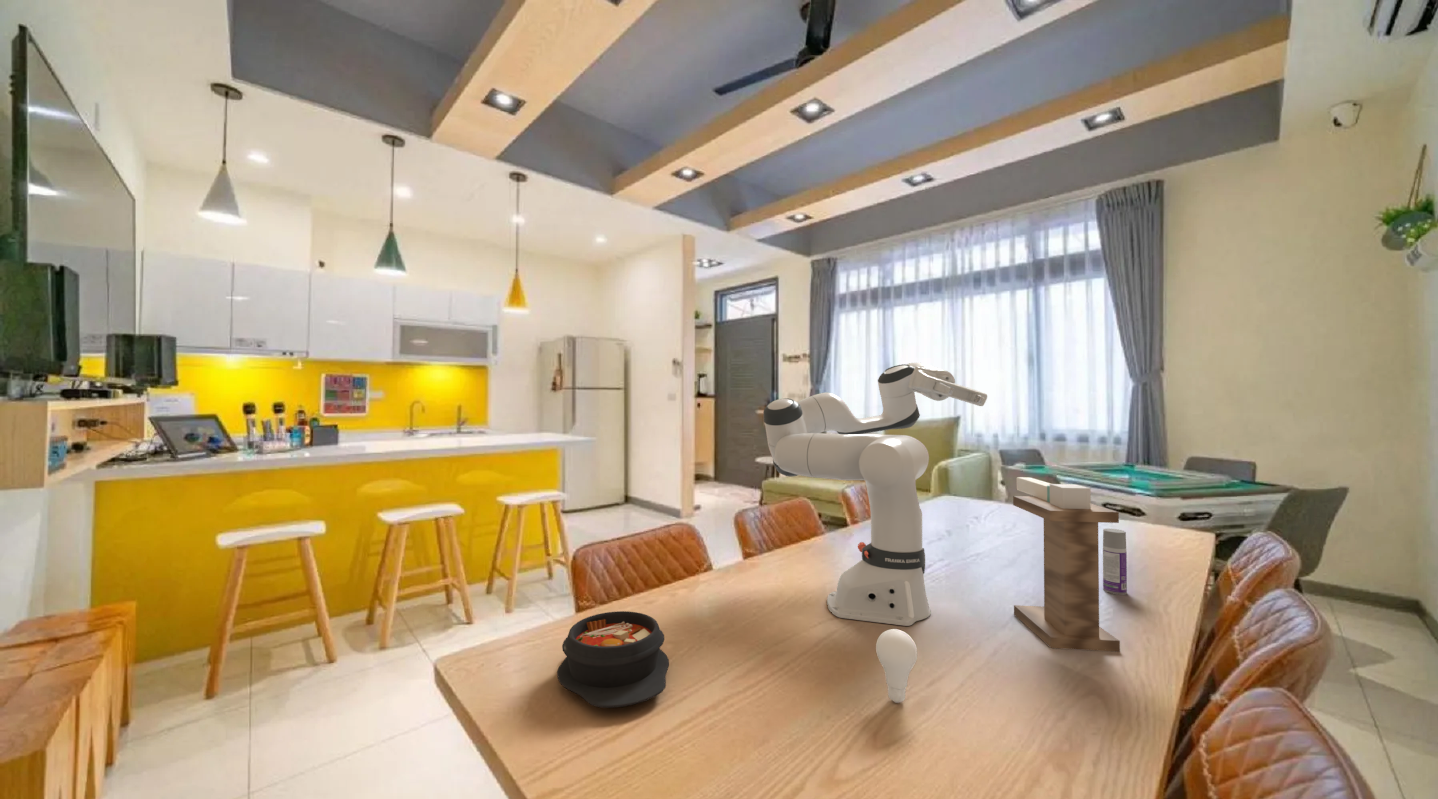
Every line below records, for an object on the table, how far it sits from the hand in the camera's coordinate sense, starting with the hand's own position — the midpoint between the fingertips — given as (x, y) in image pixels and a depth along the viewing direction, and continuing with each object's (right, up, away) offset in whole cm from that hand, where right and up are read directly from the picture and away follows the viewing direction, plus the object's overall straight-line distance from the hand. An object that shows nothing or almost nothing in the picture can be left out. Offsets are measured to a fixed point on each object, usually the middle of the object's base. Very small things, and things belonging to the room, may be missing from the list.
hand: (966, 395), depth 135 cm
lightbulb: (-37, -48, -54) cm, 81 cm away
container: (+34, -49, -7) cm, 59 cm away
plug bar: (+6, -22, -23) cm, 33 cm away
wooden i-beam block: (+6, -48, -29) cm, 57 cm away
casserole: (-82, -48, -47) cm, 106 cm away
